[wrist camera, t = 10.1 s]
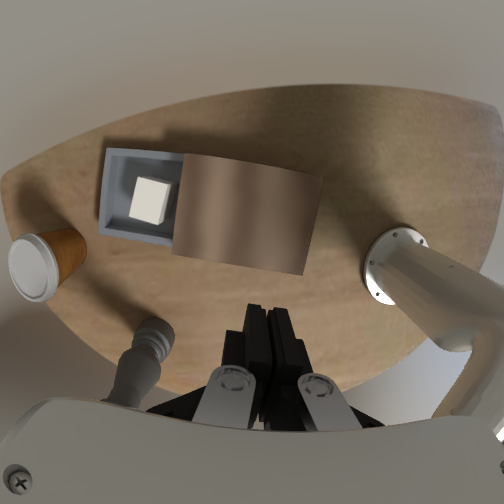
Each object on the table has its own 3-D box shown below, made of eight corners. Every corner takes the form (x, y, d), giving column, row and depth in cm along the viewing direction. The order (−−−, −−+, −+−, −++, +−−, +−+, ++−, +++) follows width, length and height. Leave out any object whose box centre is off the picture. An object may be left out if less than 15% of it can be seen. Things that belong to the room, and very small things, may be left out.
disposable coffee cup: (72, 206, 36) (23, 220, 25) (105, 254, 38) (62, 282, 27) (44, 241, 38) (-2, 262, 26) (74, 285, 40) (33, 316, 28)
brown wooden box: (312, 177, 36) (324, 177, 30) (294, 260, 39) (302, 275, 33) (194, 156, 35) (185, 152, 29) (182, 242, 38) (171, 254, 32)
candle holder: (137, 315, 41) (63, 429, 17) (173, 319, 41) (118, 448, 17) (142, 346, 43) (84, 461, 19) (176, 350, 43) (134, 477, 19)
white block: (167, 184, 31) (137, 176, 30) (157, 224, 32) (128, 216, 31) (178, 183, 35) (151, 176, 35) (168, 218, 37) (142, 211, 36)
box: (194, 156, 35) (190, 154, 32) (182, 242, 38) (177, 247, 35) (116, 149, 34) (106, 147, 31) (107, 229, 37) (98, 233, 34)
